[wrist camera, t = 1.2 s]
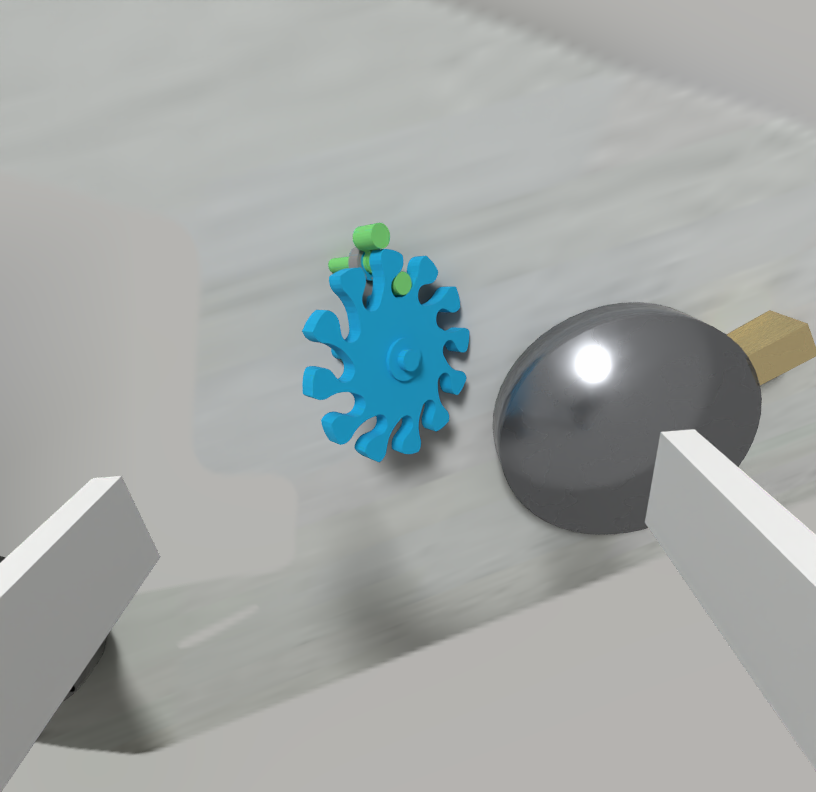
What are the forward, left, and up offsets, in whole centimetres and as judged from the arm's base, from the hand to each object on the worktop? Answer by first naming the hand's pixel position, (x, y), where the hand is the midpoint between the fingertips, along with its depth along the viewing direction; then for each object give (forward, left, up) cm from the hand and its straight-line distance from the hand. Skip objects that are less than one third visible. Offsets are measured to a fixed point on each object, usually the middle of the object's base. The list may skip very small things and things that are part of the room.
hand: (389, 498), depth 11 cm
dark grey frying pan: (+13, -6, -15) cm, 21 cm away
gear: (0, 0, -15) cm, 15 cm away
